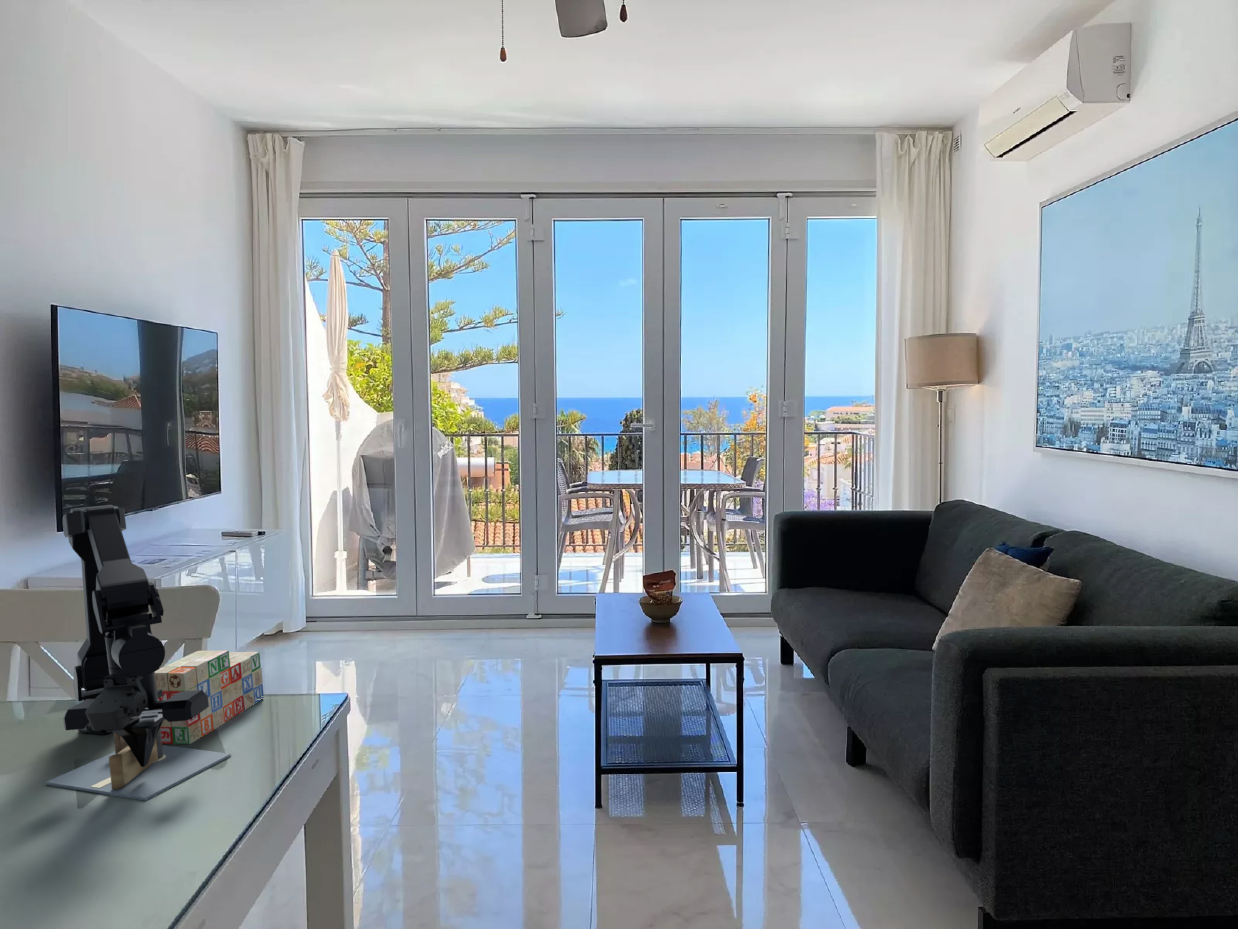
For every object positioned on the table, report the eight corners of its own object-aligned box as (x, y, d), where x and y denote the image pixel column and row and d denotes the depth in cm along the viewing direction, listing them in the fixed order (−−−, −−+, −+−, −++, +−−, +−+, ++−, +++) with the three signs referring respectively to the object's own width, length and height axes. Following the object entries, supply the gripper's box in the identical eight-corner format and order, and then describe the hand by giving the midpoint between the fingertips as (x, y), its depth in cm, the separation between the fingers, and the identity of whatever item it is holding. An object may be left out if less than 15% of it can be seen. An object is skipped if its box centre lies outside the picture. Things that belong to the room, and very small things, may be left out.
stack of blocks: (234, 699, 163) (229, 635, 162) (264, 699, 162) (259, 635, 161) (155, 744, 142) (149, 671, 141) (189, 745, 141) (183, 671, 140)
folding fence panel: (153, 755, 136) (151, 726, 135) (165, 754, 136) (162, 726, 135) (108, 789, 124) (105, 758, 123) (121, 789, 124) (118, 758, 123)
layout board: (46, 784, 128) (45, 781, 128) (137, 744, 142) (137, 741, 142) (145, 800, 121) (145, 797, 121) (230, 756, 135) (230, 753, 135)
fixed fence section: (112, 754, 137) (110, 726, 137) (122, 749, 139) (120, 722, 138) (145, 758, 134) (143, 730, 134) (155, 754, 136) (153, 726, 136)
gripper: (30, 686, 119) (45, 795, 120) (164, 675, 118) (178, 785, 119) (81, 661, 130) (95, 762, 131) (204, 651, 129) (216, 752, 130)
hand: (144, 765), depth 127 cm, fingers closed
